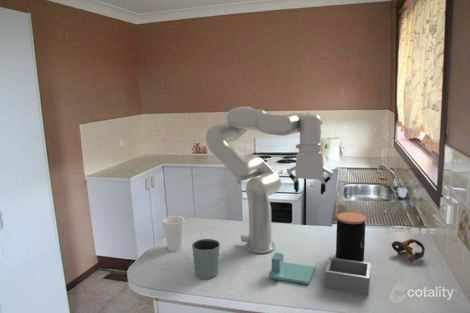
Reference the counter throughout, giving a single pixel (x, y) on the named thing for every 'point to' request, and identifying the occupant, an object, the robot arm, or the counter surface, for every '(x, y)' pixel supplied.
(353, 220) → the coffee jar
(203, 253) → the green tapered cup
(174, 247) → the foam cup
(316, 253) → the counter surface
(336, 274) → the tub
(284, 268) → the teal platform with post
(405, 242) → the brown looped piece
